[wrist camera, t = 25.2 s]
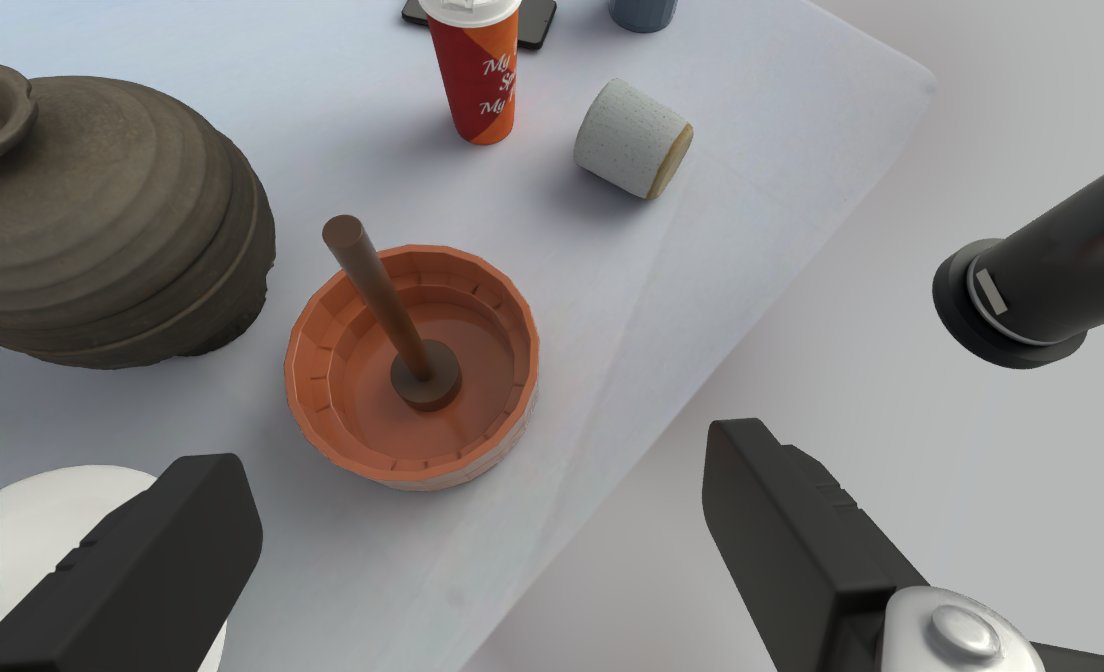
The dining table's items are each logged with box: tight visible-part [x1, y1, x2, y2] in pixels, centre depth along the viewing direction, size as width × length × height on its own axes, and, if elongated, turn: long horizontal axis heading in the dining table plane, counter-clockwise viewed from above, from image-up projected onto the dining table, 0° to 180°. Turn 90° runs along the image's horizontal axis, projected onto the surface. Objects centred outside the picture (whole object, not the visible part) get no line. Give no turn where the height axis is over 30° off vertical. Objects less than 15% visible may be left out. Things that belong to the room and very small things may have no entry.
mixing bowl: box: [284, 244, 539, 492], centre depth 37 cm, size 16×16×6 cm
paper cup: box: [418, 0, 522, 145], centre depth 43 cm, size 8×8×14 cm
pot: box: [0, 65, 276, 370], centre depth 33 cm, size 18×18×20 cm
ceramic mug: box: [573, 79, 694, 200], centre depth 45 cm, size 11×8×8 cm
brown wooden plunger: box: [322, 215, 462, 412], centre depth 30 cm, size 5×5×20 cm
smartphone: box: [402, 0, 557, 50], centre depth 55 cm, size 7×1×15 cm
